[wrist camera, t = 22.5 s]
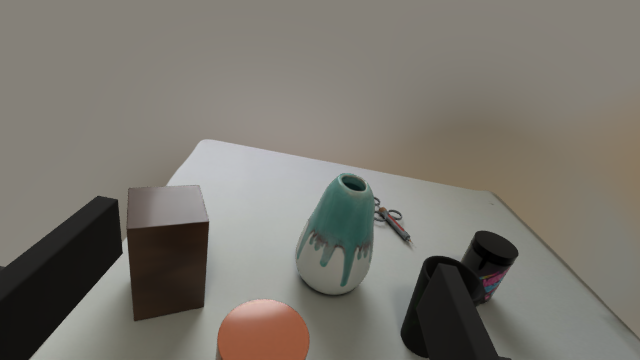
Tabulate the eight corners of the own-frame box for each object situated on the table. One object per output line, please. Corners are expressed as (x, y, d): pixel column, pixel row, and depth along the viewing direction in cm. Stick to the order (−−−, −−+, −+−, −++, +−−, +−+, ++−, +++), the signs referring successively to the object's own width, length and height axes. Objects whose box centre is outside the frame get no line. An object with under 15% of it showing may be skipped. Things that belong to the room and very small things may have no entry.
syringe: (398, 252, 62) (401, 246, 61) (354, 200, 76) (356, 194, 75) (429, 248, 65) (432, 241, 65) (381, 199, 79) (383, 193, 79)
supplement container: (448, 293, 55) (474, 245, 50) (451, 270, 61) (475, 225, 56) (489, 312, 53) (520, 264, 48) (488, 286, 59) (516, 241, 54)
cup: (452, 336, 47) (489, 276, 42) (440, 377, 41) (481, 313, 36) (403, 307, 50) (431, 247, 45) (385, 341, 44) (415, 277, 39)
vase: (374, 299, 50) (413, 202, 42) (305, 312, 46) (333, 206, 37) (343, 249, 60) (370, 161, 51) (282, 255, 55) (301, 160, 46)
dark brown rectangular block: (134, 321, 39) (126, 228, 33) (134, 273, 45) (128, 187, 39) (203, 307, 43) (209, 221, 37) (195, 264, 49) (199, 184, 43)
